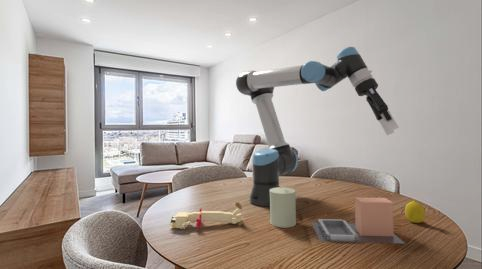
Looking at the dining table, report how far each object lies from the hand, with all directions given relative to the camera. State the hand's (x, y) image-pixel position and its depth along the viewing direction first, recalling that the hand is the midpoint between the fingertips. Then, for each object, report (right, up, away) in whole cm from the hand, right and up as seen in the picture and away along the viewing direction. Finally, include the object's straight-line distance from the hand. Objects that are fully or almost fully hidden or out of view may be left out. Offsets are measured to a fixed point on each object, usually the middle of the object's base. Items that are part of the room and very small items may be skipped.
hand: (392, 131), depth 89 cm
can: (-40, -32, -2) cm, 52 cm away
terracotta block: (-14, -31, -14) cm, 37 cm away
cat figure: (-67, -33, -3) cm, 75 cm away
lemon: (+4, -31, -6) cm, 32 cm away
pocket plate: (-20, -32, -13) cm, 40 cm away
